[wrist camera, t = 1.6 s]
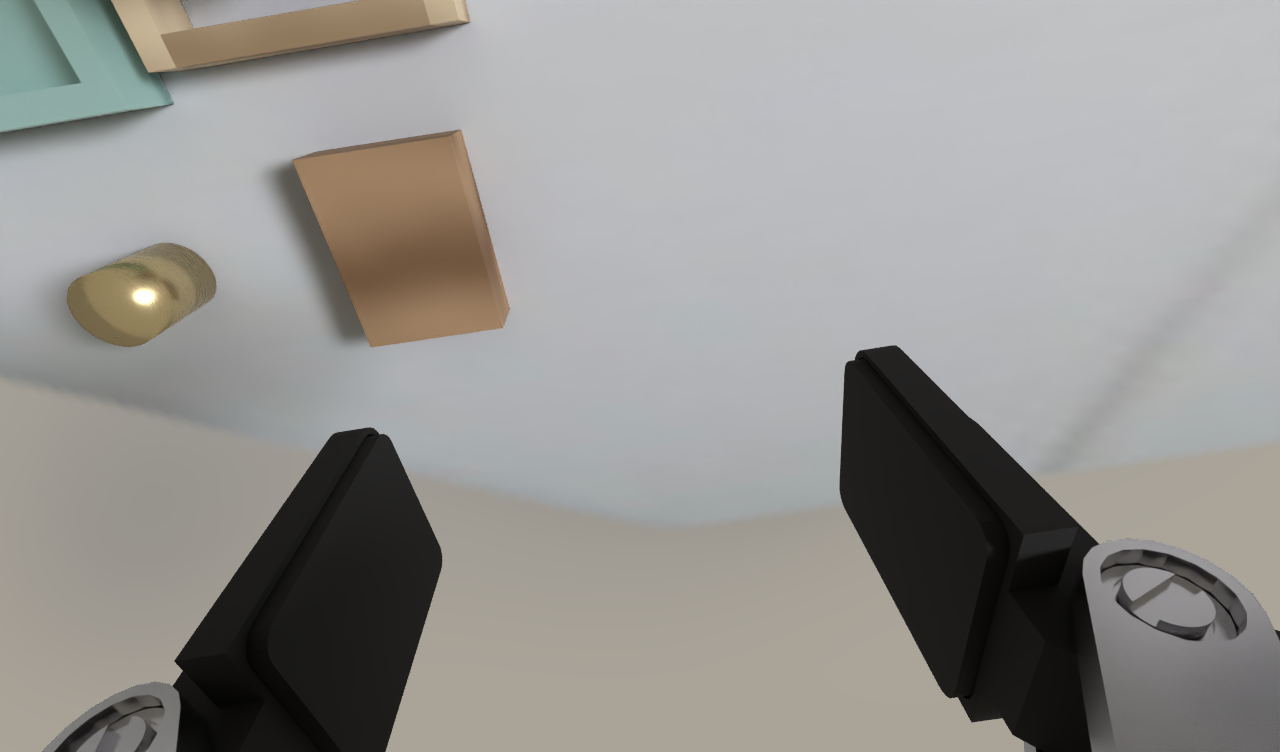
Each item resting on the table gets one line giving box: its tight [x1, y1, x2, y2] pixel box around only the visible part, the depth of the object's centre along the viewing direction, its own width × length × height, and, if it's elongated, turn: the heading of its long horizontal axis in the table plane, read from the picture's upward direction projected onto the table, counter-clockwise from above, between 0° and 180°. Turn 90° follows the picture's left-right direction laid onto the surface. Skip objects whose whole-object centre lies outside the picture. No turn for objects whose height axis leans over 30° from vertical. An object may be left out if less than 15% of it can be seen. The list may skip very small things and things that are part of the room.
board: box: [292, 130, 510, 347], centre depth 24 cm, size 8×6×2 cm
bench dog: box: [67, 243, 216, 347], centre depth 24 cm, size 3×3×4 cm
